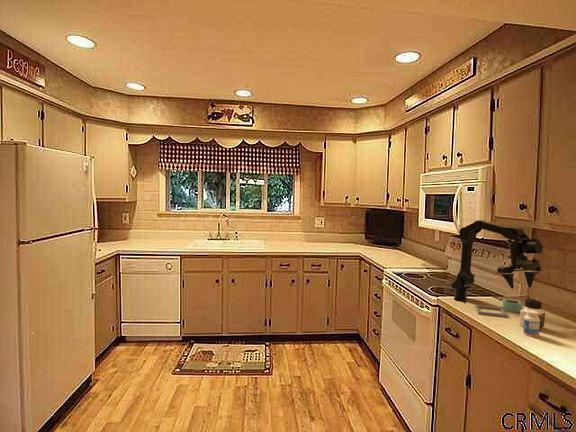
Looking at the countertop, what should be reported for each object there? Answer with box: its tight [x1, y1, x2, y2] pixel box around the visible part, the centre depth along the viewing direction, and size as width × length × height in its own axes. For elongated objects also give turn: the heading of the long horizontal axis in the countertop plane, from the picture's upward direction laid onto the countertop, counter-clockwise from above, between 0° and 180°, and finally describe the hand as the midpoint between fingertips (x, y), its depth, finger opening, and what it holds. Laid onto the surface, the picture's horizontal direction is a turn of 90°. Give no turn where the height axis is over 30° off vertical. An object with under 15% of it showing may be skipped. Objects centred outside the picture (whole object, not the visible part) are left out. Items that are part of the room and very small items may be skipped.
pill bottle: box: [522, 310, 540, 338], centre depth 153 cm, size 6×5×10 cm
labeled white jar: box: [519, 298, 546, 331], centre depth 162 cm, size 7×7×12 cm
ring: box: [501, 298, 523, 313], centre depth 183 cm, size 9×7×4 cm
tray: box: [474, 304, 508, 319], centre depth 179 cm, size 12×12×2 cm
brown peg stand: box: [500, 299, 520, 314], centre depth 184 cm, size 8×8×5 cm
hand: (521, 287), depth 173 cm, fingers open, 9 cm apart
